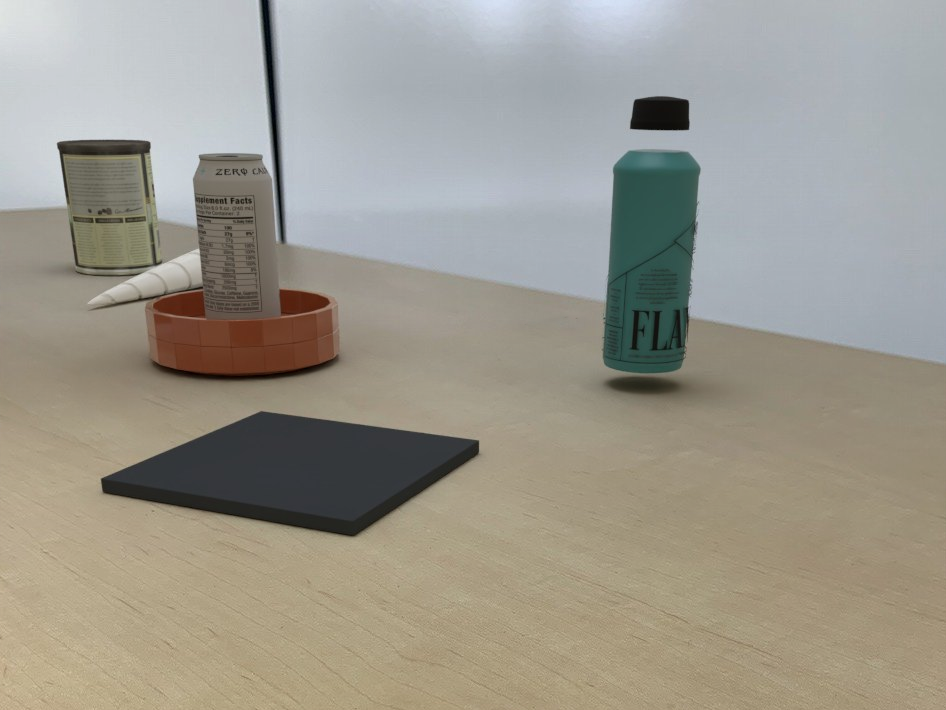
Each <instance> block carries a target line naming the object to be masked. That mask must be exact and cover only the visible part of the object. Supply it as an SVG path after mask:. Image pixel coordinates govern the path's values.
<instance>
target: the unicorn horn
mask: <svg viewBox="0 0 946 710" xmlns="http://www.w3.org/2000/svg"><path fill="white" fill-rule="evenodd" d="M198 288H199V289H200V288H203V283H202V272H201V262H200V251H199V247H198V248H196V249H193V250H191V251H189V252H187V253H185V254H182V255H180V256H178V257H175V258H173V259H171V260H168V261H166V262H164V263H162V265H159V266H157V267H155V268H153V269H151V270H148V271H146V272H144V273H142V274H137V275H135V276H133V277H132V278H130V279H127V280H125V281H122V282H121V283H119V284H118V285H115V286H113V287H111V288H109V289H107V290H105V291H103V292H101V293H99V294H98V295H96V296H95V297H93V298H91V300H89V301H88V302H87V305H88V306H105V305H111V304H113V302H115V303H116V304H118V303H125V302H131V301H137V300H139V299H141V300H142V299H148V298H154V297H160V296H164V295H169V294H174V293H180V292H185V291H186V290H188V291H190V290H194V289H198Z"/></svg>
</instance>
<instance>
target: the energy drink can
mask: <svg viewBox="0 0 946 710" xmlns="http://www.w3.org/2000/svg"><path fill="white" fill-rule="evenodd" d="M263 158H264V155H263V154H260V153H247V152H245V153H244V152H237V153H236V152H222V153H220V152H218V153H217V152H215V153H201V154H200V153H199V154H198V159H199V162H198V165H197V168H196V170H195V173H194V175H193V176H192V177H193V178H192V185H193V196H194V206H195V208H194V209H195V219H196V228H197V237H198V248H199V251H200V262H201V272H202V283H203V287H202V290H203V294H204V304H205V315H206V319H255V318H270V317H281V309H280V294H279V288H280V280H279V264H278V249H277V248H278V247H277V235H276V234H277V233H276V232H277V231H276V218H275V202H274V186H273V177H272V176H271V174H270V172H269V170H268V169H267V168H266V165H265V164H264V161H263Z"/></svg>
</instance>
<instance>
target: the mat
mask: <svg viewBox="0 0 946 710" xmlns="http://www.w3.org/2000/svg"><path fill="white" fill-rule="evenodd" d="M479 453H480V440H479V439H471V438H464V437H457V436H449V435H443V434H435V433H427V432H420V431H413V430H406V429H405V430H404V429H398V428H391V427H383V426H376V425H369V424H361V423H355V422H354V423H352V422H345V421H338V420H330V419H325V418H316V417H308V416H301V415H293V414H285V413H280V412H279V413H278V412H271V411H264V410H260V411H258V412H255V413H253V414H251V415H249V416H246V417H244V418H241V419H239V420H236V421H234V422H232V423H229V424H227V425H224V426H222V427H220V428H217V429H215V430H213V431H211V432H207V433H205V434H203V435H201V436H198V437H195V438H194V439H192V440H189V441H187V442H185V443H182V444H179V445H177V446H174V447H172V448H170V449H167V450H165V451H163V452H160V453H158V454H155V455H154V456H151V457H149V458H146V459H144V460H141V461H139V462H137V463H134V464H132V465H129V466H128V467H125V468H123V469H120V470H117V471H115V472H113V473H110V474H108V475H106V476H104V477H101V478H100V484H101V491H102V493H107V494H114V495H119V496H124V497H130V498H136V499H142V500H147V501H152V502H159V503H164V504H170V505H175V506H182V507H188V508H193V509H197V510H203V511H210V512H216V513H222V514H227V515H232V516H233V515H234V516H239V517H244V518H251V519H256V520H262V521H267V522H273V523H278V524H283V525H284V524H285V525H290V526H297V527H303V528H308V529H313V530H319V531H325V532H331V533H337V534H341V535H348V536H355V535H357V534H358V533H360V532H361V531H362V530H364V529H366V528H367V527H369V526H370V525H371V524H373V523H374V522H376V521H378V520H379V519H381V518H383V517H384V516H386V515H387V514H389V513H390V512H392V511H393V510H395V509H396V508H398V507H399V506H400V505H402V504H404V503H405V502H407V501H408V500H409V499H411V498H412V497H414V496H416V495H417V494H418V493H420V492H422V491H423V490H425V489H426V488H427V487H429V486H431V485H432V484H434V483H435V482H437V481H438V480H440V479H441V478H442V477H444V476H446V475H447V474H449V473H451V472H452V471H453V470H455V469H457V468H458V467H460V466H461V465H463V464H464V463H466V462H467V461H468V460H470V459H472V458H473V457H474V456H476V455H478V454H479Z"/></svg>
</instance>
